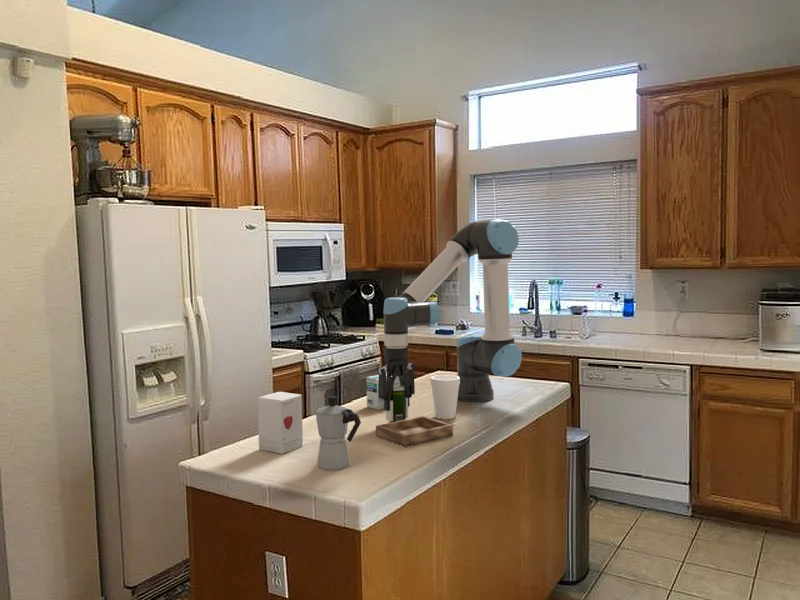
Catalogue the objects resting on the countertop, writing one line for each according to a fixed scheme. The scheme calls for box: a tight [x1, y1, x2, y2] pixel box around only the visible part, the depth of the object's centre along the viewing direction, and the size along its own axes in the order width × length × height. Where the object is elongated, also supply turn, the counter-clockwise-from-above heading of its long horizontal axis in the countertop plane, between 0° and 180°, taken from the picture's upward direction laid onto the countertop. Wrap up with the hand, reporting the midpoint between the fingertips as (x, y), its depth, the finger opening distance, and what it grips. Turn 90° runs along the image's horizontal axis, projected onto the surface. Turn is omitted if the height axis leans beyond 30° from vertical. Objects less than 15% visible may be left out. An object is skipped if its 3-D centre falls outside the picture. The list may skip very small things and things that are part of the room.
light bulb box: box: [366, 373, 400, 410], centre depth 232 cm, size 11×7×11 cm, turn 132°
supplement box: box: [257, 391, 304, 455], centre depth 184 cm, size 9×9×15 cm
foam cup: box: [430, 374, 460, 420], centre depth 217 cm, size 10×9×13 cm
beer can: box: [388, 384, 407, 423], centre depth 209 cm, size 5×5×12 cm
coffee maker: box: [312, 395, 362, 472], centre depth 169 cm, size 15×9×18 cm, turn 58°
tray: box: [375, 415, 454, 448], centre depth 195 cm, size 18×14×3 cm
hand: (397, 418), depth 210 cm, fingers closed on beer can, 5 cm apart
